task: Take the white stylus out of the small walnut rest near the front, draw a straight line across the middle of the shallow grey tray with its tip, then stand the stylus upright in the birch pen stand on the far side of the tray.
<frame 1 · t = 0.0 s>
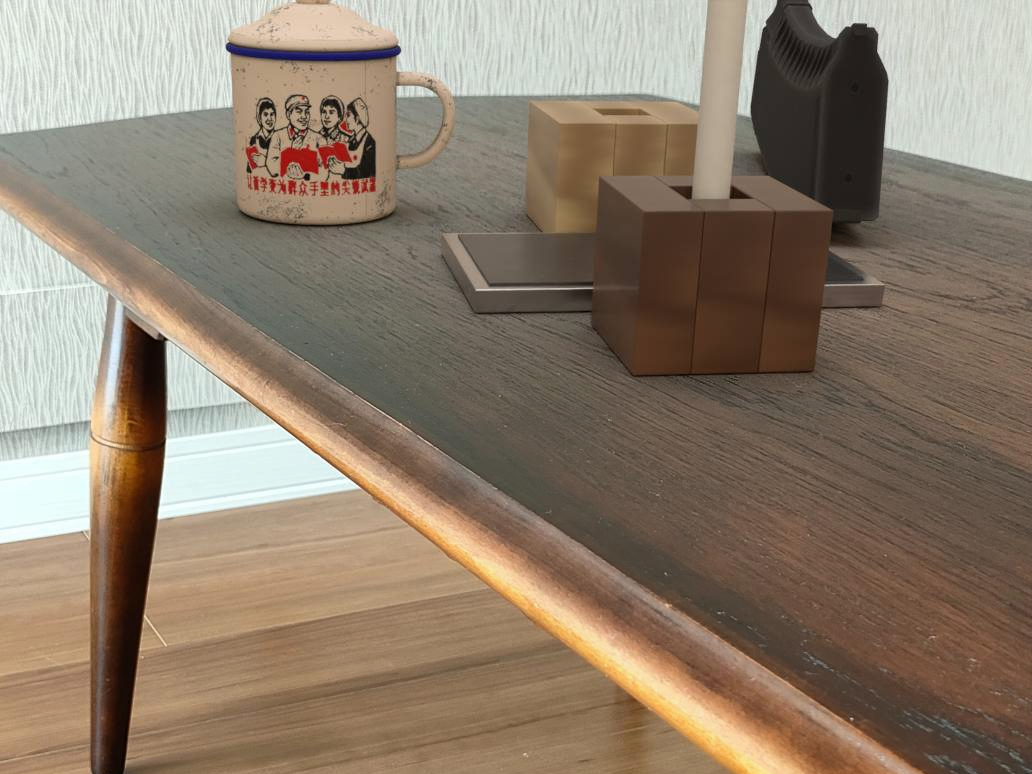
pen stand: (614, 228, 77), on the table
stylus: (697, 347, 57), resting in stylus rest
stylus rest: (697, 346, 57), on the table
ribbed dark grey housing: (799, 194, 88), on the table
shallow grey tray: (649, 278, 67), on the table
teacup with lid: (344, 214, 79), on the table
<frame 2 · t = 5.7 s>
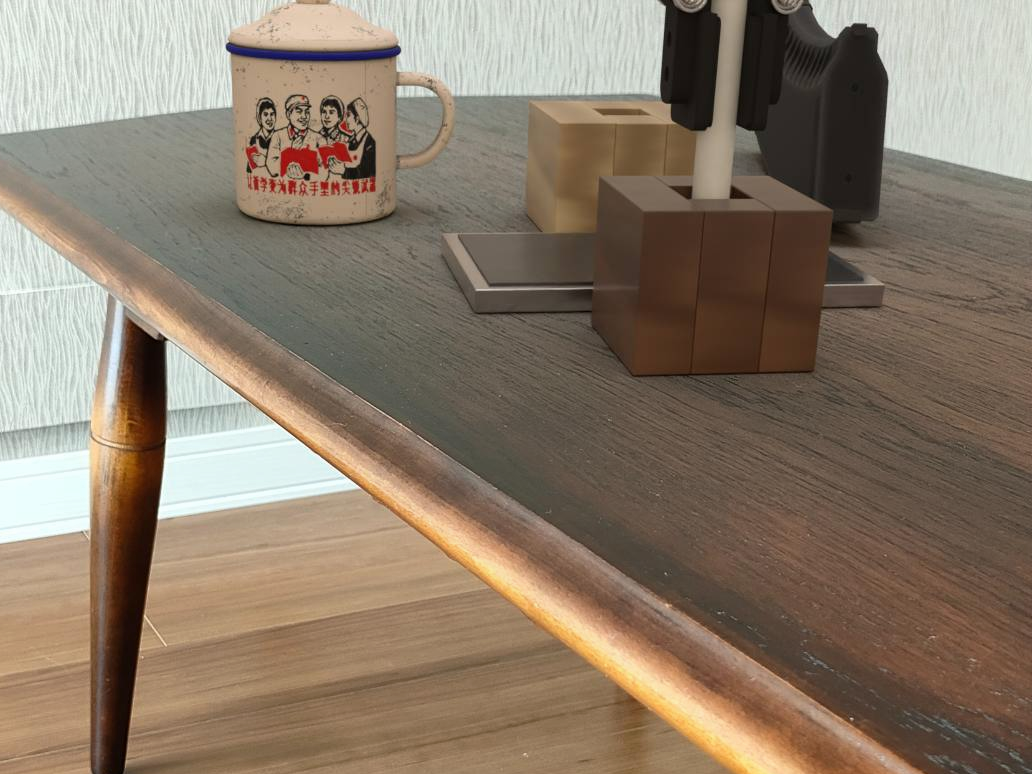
hand: (717, 122, 53), 9 cm above the table, tool pointing down, fingers closed on stylus, 1 cm apart
stylus: (697, 347, 57), resting in stylus rest, touching gripper
everything else where it was.
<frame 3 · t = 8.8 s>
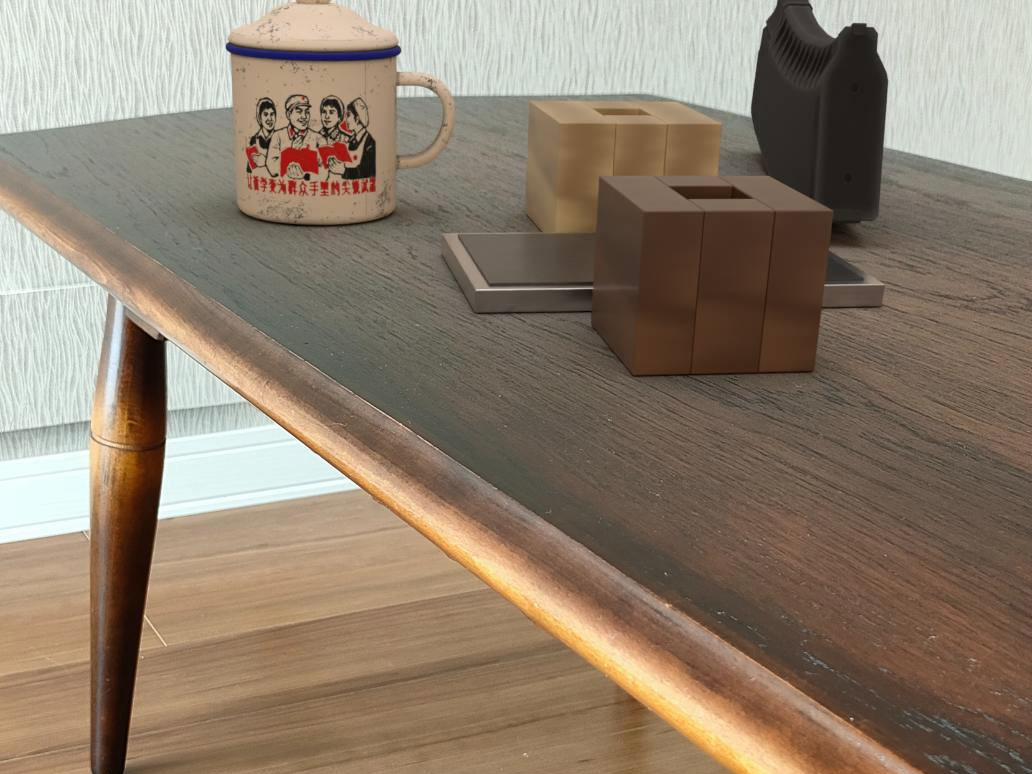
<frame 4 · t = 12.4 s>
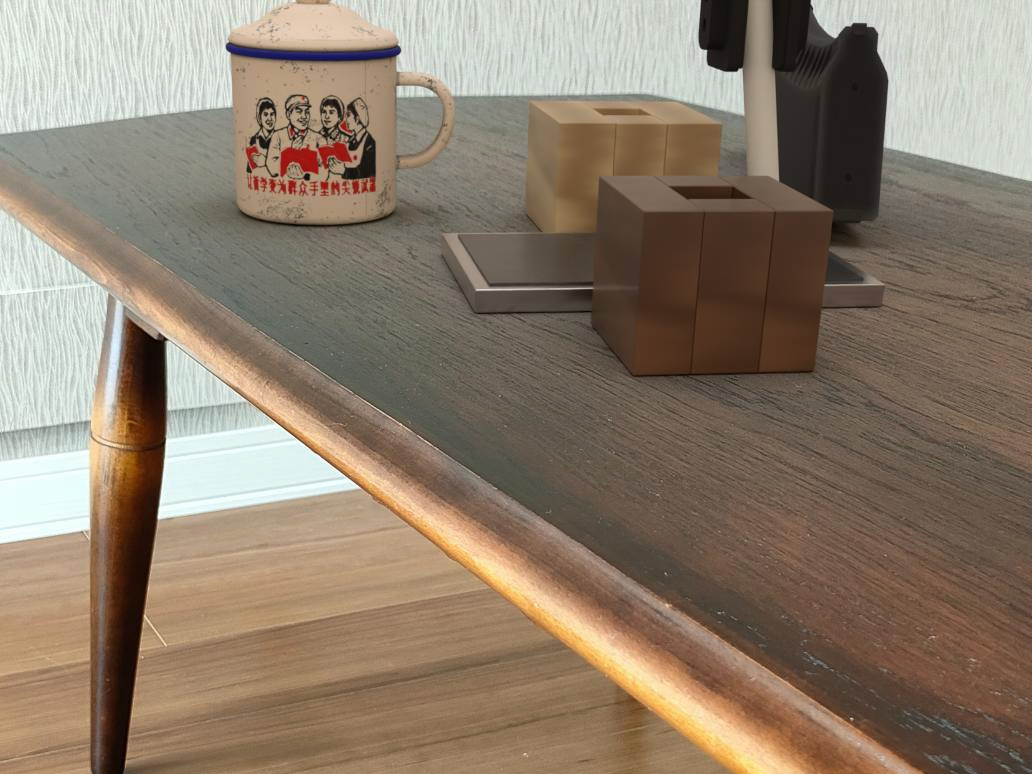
hand: (749, 65, 63), 9 cm above the table, tool pointing down, fingers closed on stylus, 1 cm apart
stylus: (766, 252, 67), point 1 cm above the table, tilted 9°, touching gripper, shallow grey tray
everything else where it was.
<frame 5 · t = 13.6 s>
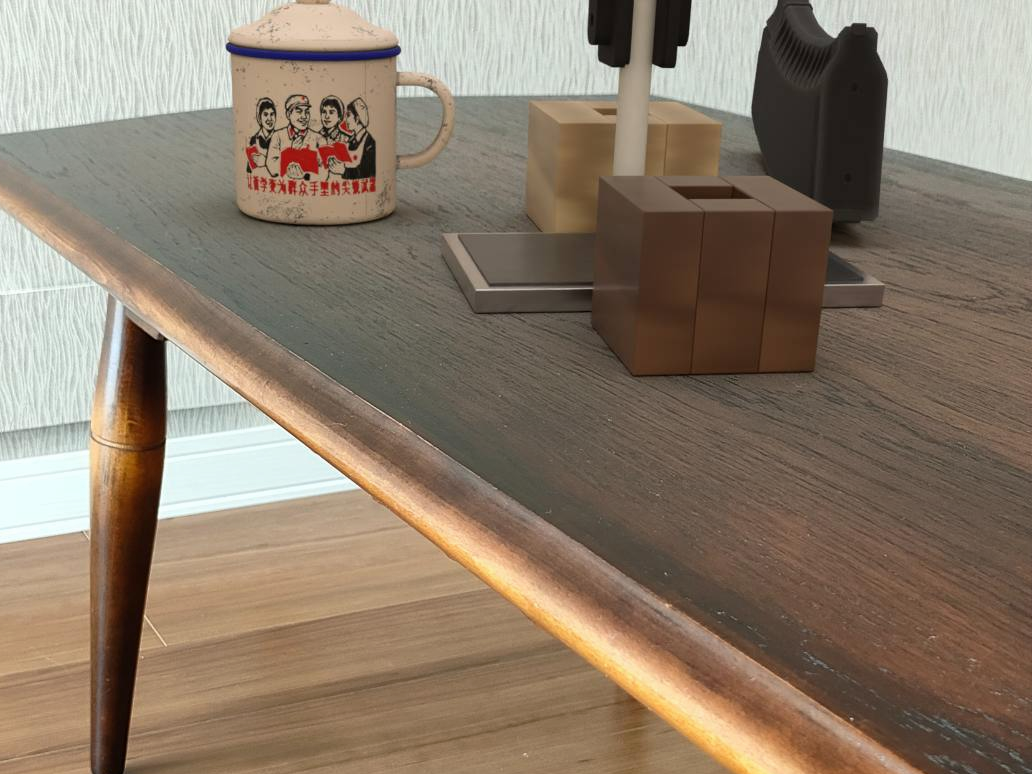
hand: (636, 61, 63), 10 cm above the table, tool pointing down, fingers closed on stylus, 1 cm apart
stylus: (623, 252, 66), point 1 cm above the table, touching gripper
everything else where it was.
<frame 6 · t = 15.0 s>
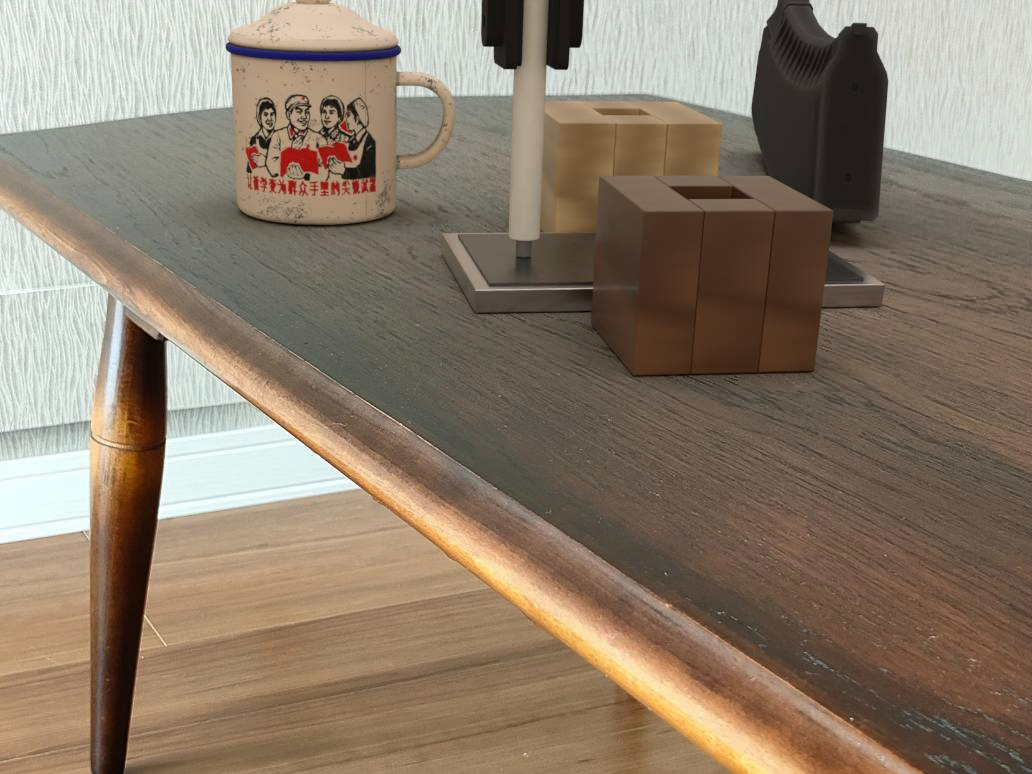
hand: (530, 63, 62), 9 cm above the table, tool pointing down, fingers closed on stylus, 1 cm apart
stylus: (523, 256, 65), point 1 cm above the table, touching gripper
everything else where it was.
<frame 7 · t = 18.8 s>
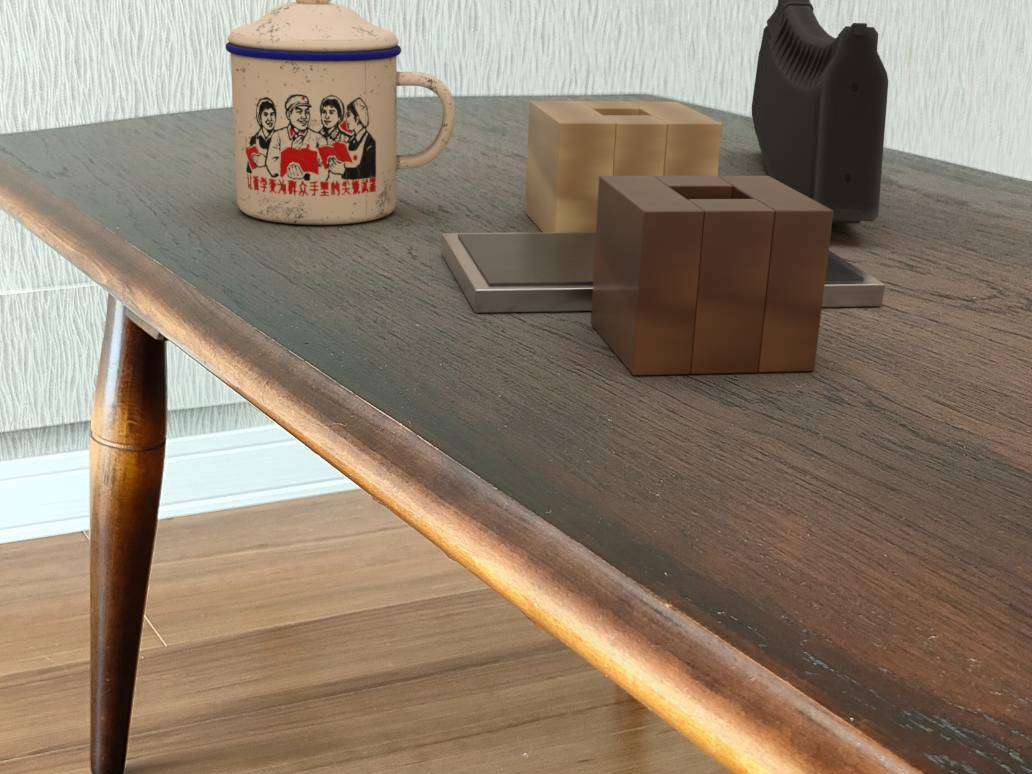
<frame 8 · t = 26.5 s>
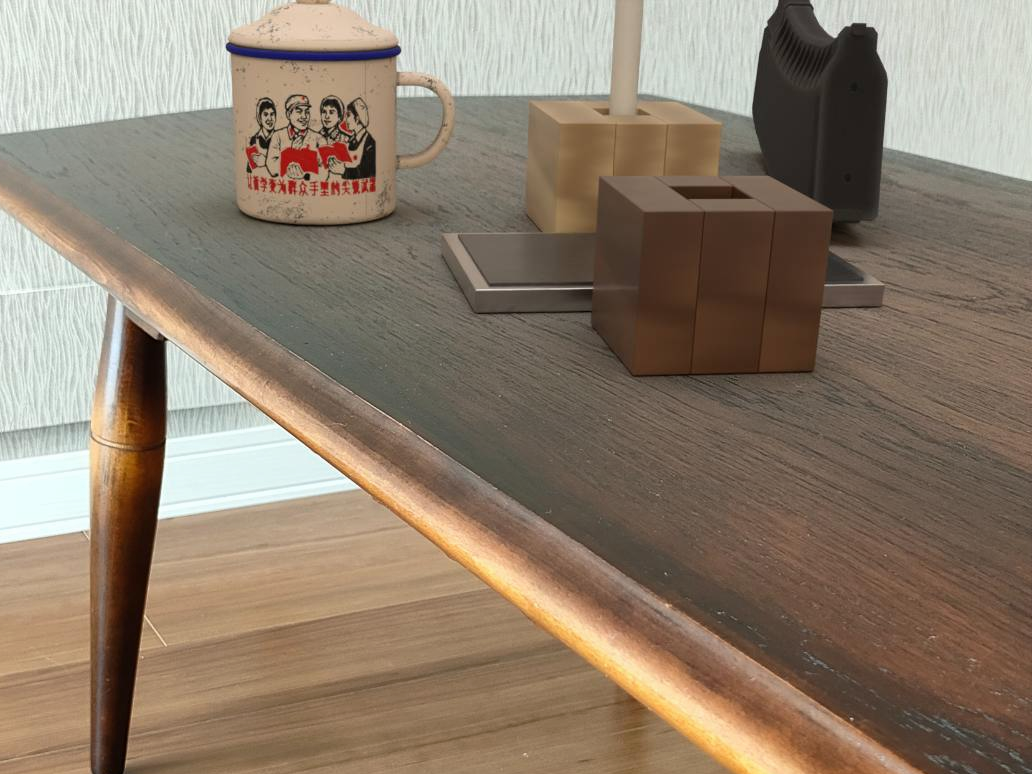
stylus: (615, 228, 77), resting in pen stand
everything else where it was.
at the end: stylus 0.0 cm off-centre in the pen stand, point 0.0 cm above the pen stand's base; stylus tilted 0°; the gripper is holding nothing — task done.
